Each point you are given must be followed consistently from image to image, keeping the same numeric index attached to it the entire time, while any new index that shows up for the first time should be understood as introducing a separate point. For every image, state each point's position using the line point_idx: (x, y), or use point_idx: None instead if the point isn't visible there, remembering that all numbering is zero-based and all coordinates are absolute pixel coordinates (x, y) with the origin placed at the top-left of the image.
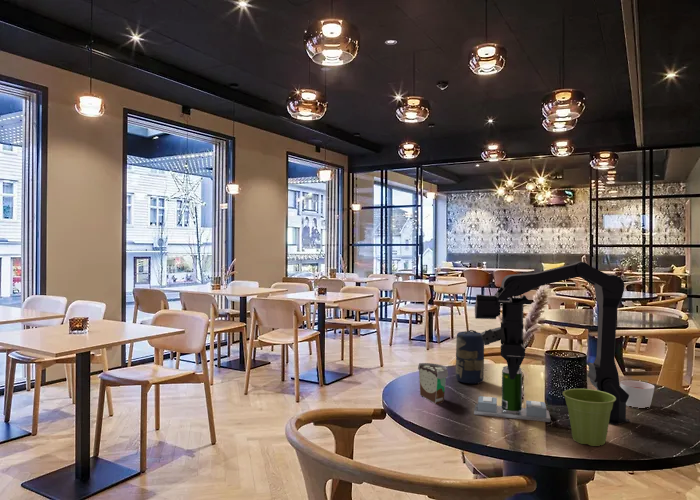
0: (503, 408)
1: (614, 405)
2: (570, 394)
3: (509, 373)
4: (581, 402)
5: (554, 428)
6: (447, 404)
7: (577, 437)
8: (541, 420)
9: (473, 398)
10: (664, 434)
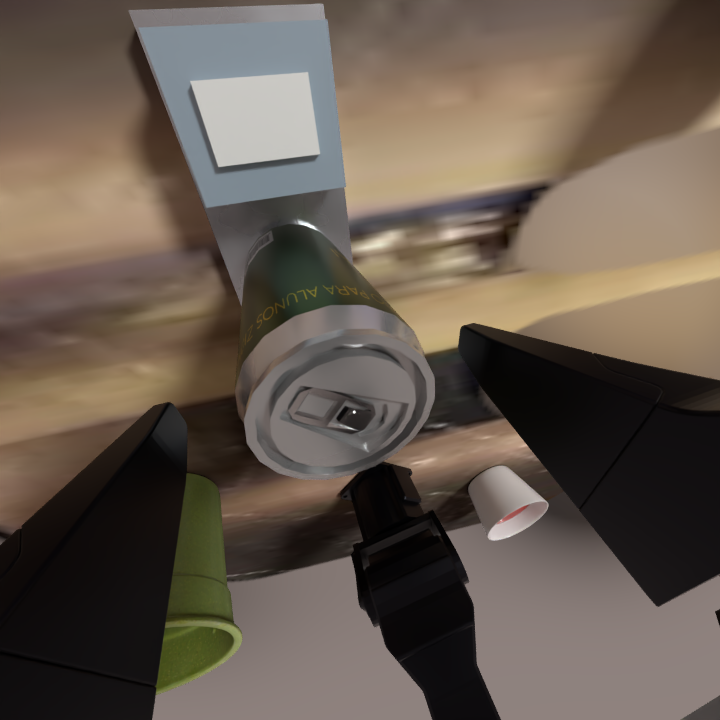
0: (257, 240)
1: (365, 532)
2: (170, 606)
3: (107, 453)
4: None
5: (221, 420)
6: None
7: None
8: None
9: None
10: (329, 541)
